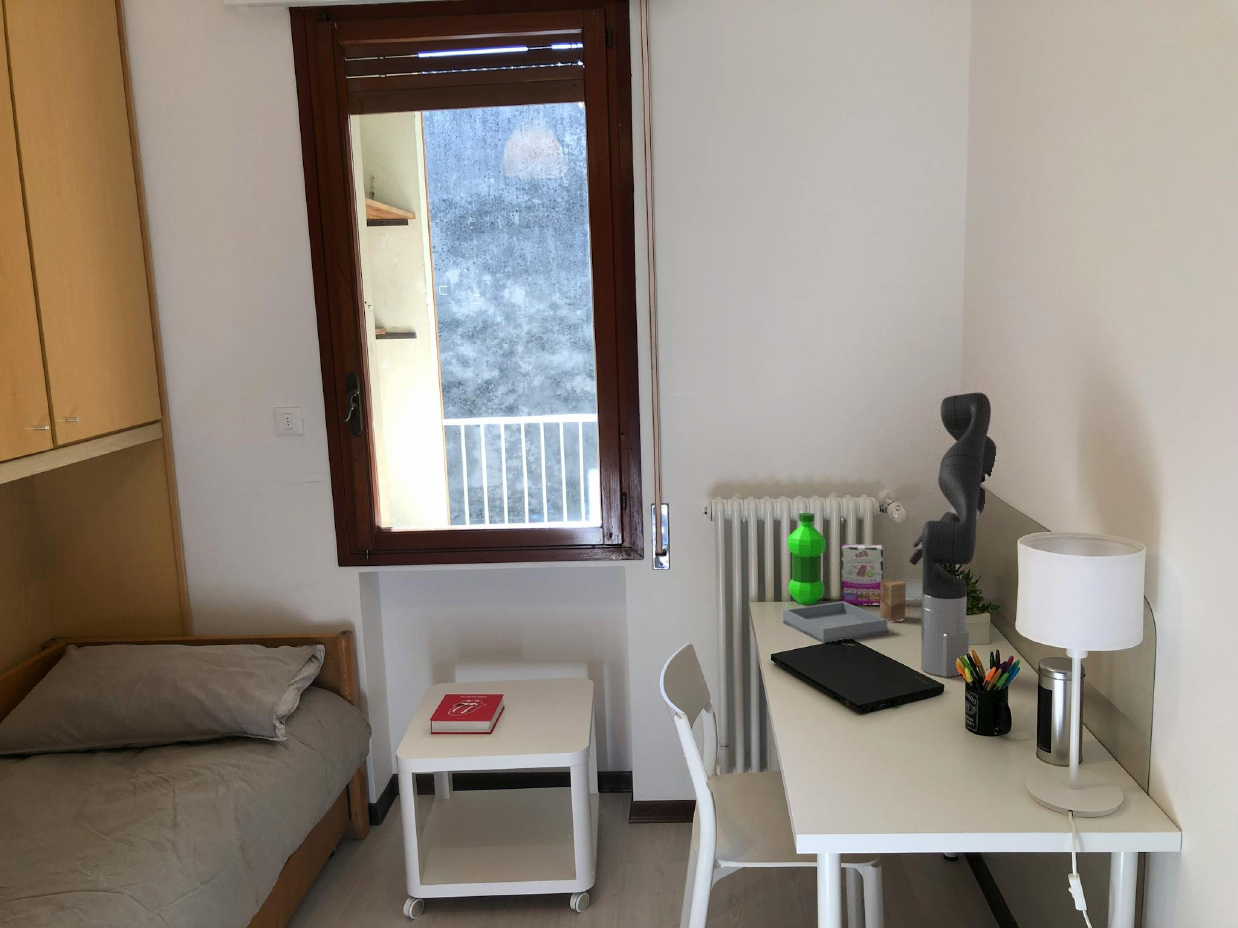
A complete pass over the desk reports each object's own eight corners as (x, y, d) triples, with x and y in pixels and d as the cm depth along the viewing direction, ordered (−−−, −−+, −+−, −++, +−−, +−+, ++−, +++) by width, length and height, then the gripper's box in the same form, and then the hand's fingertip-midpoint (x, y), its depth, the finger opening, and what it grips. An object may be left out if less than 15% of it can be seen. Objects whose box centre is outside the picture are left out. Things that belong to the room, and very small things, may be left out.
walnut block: (905, 620, 245) (905, 583, 243) (890, 622, 243) (891, 584, 242) (894, 615, 249) (894, 579, 248) (880, 618, 247) (880, 580, 246)
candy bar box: (883, 602, 262) (884, 544, 260) (882, 606, 258) (883, 548, 256) (842, 599, 266) (842, 542, 264) (841, 604, 261) (841, 546, 259)
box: (887, 633, 234) (887, 619, 234) (823, 643, 228) (823, 629, 227) (843, 614, 252) (843, 601, 251) (783, 622, 245) (783, 609, 244)
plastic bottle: (792, 607, 259) (792, 518, 256) (785, 597, 270) (785, 511, 266) (828, 606, 259) (829, 517, 256) (819, 596, 270) (820, 510, 267)
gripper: (932, 506, 256) (897, 552, 253) (969, 515, 242) (932, 563, 240) (948, 524, 258) (912, 569, 255) (985, 533, 245) (948, 581, 242)
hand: (922, 566), depth 248 cm, fingers open, 8 cm apart
